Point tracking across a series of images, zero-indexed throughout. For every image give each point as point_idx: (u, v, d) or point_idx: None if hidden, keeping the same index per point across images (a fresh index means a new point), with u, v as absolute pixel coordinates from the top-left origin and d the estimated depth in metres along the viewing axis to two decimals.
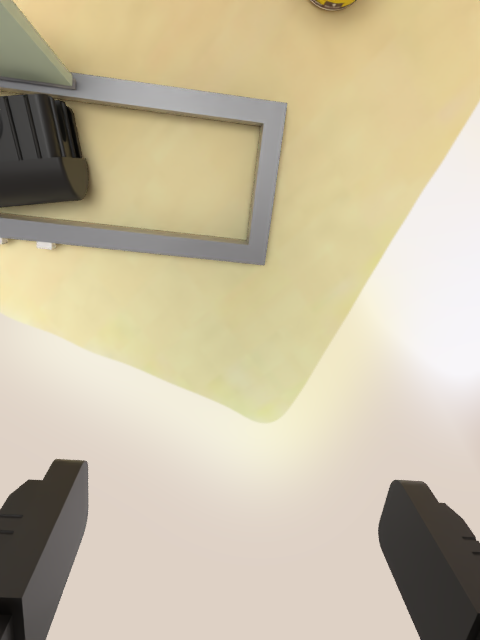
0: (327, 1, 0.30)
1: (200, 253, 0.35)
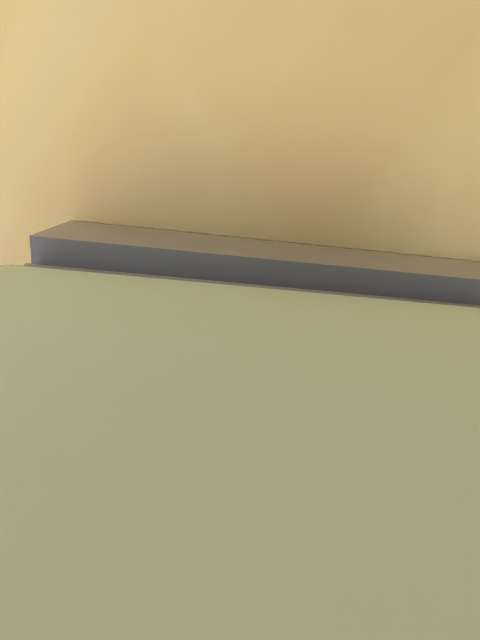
0: None
1: None
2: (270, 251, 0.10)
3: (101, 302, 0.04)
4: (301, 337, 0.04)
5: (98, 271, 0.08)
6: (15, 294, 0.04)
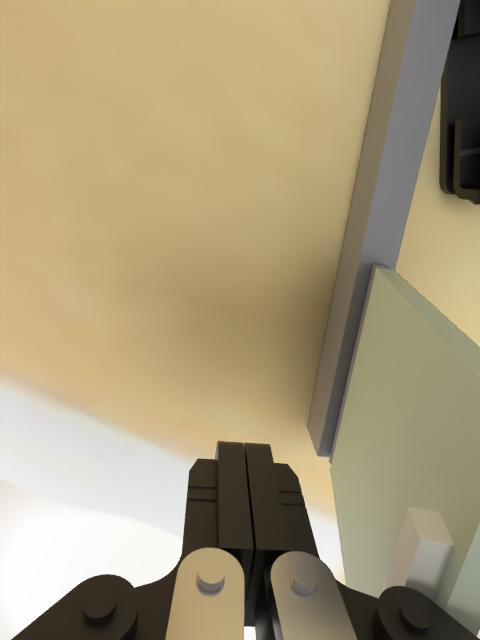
0: None
1: None
2: (331, 358, 0.20)
3: (349, 474, 0.16)
4: (365, 447, 0.14)
5: (335, 438, 0.20)
6: (345, 492, 0.16)
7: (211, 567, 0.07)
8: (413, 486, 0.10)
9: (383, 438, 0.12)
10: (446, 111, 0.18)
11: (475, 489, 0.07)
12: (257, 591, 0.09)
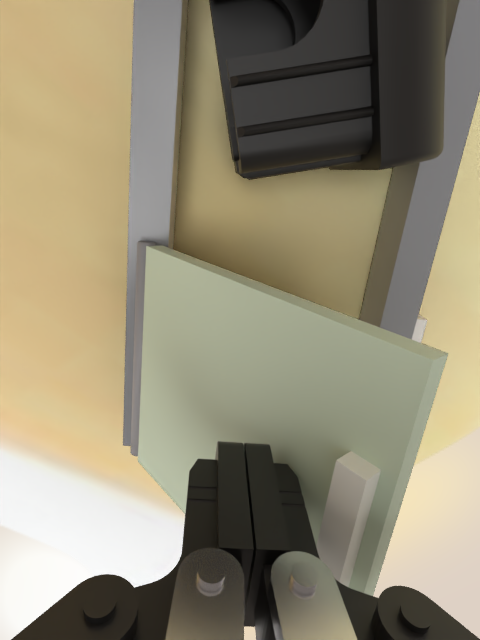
0: None
1: None
2: None
3: (182, 456, 0.16)
4: (202, 426, 0.14)
5: (133, 429, 0.19)
6: (181, 475, 0.16)
7: (211, 567, 0.07)
8: (304, 440, 0.11)
9: (235, 410, 0.13)
10: (221, 81, 0.17)
11: (394, 421, 0.09)
12: (257, 591, 0.09)
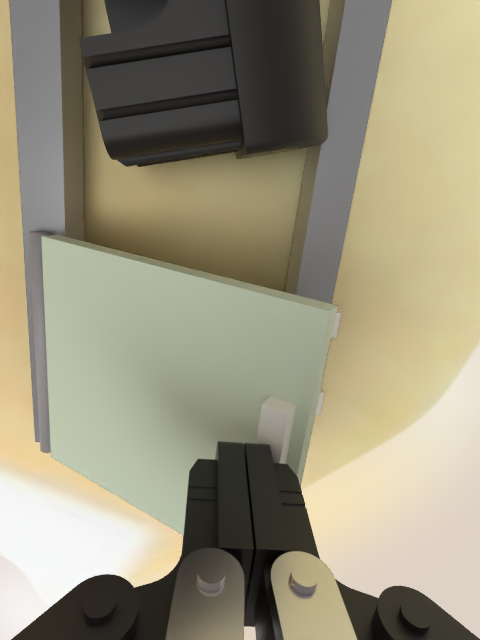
0: None
1: None
2: None
3: (105, 439, 0.16)
4: (125, 405, 0.15)
5: (42, 426, 0.18)
6: (105, 458, 0.17)
7: (211, 567, 0.07)
8: (229, 396, 0.13)
9: (159, 383, 0.14)
10: None
11: (303, 364, 0.11)
12: (257, 591, 0.09)
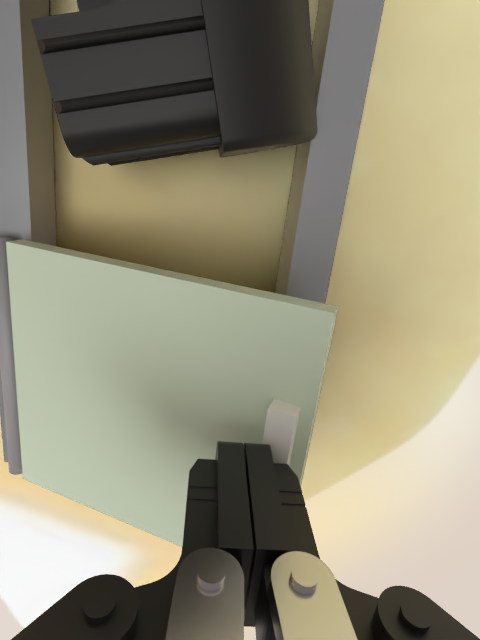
0: None
1: None
2: None
3: (88, 455, 0.15)
4: (111, 418, 0.14)
5: (11, 446, 0.17)
6: (88, 474, 0.16)
7: (211, 567, 0.07)
8: (228, 402, 0.13)
9: (150, 393, 0.14)
10: None
11: (308, 366, 0.11)
12: (257, 591, 0.09)
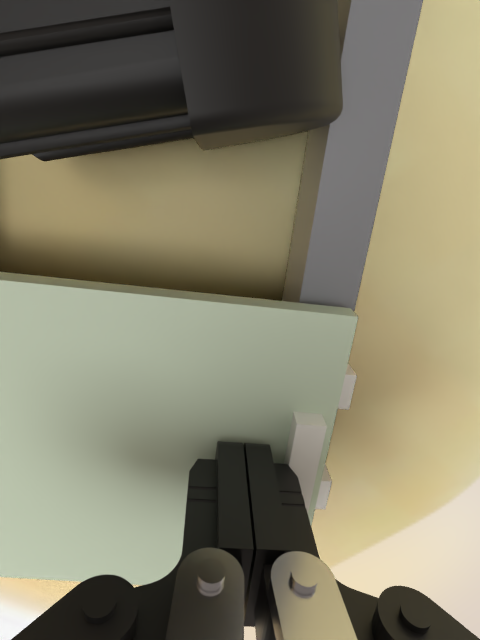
0: None
1: None
2: None
3: (56, 521, 0.12)
4: (89, 471, 0.12)
5: None
6: (58, 543, 0.13)
7: (211, 567, 0.07)
8: (242, 424, 0.12)
9: (144, 432, 0.12)
10: None
11: (330, 373, 0.11)
12: (257, 591, 0.09)
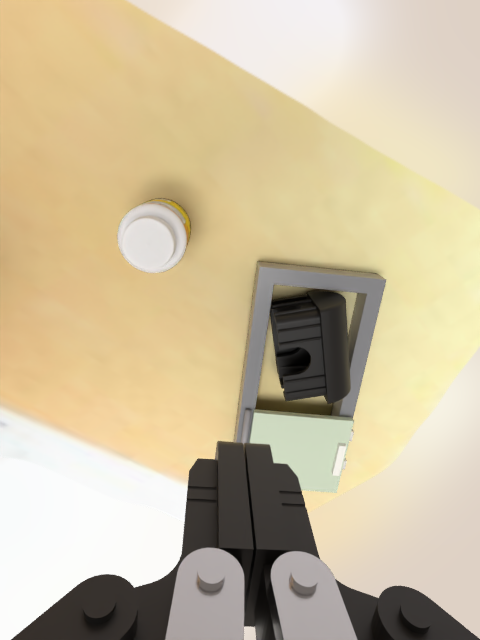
0: (189, 237, 0.39)
1: (369, 331, 0.43)
2: (235, 440, 0.48)
3: None
4: (285, 457, 0.47)
5: None
6: None
7: (211, 567, 0.07)
8: (325, 445, 0.46)
9: (300, 447, 0.46)
10: None
11: (347, 433, 0.46)
12: (257, 591, 0.09)
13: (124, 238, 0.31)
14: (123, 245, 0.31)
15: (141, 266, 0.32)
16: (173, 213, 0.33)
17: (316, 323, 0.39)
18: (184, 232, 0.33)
